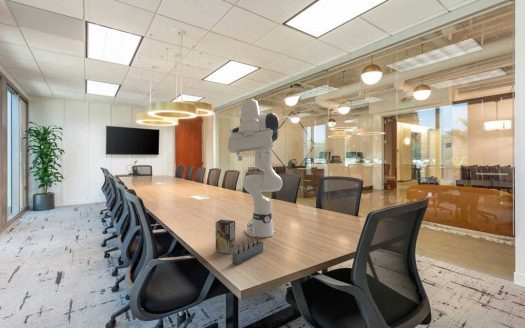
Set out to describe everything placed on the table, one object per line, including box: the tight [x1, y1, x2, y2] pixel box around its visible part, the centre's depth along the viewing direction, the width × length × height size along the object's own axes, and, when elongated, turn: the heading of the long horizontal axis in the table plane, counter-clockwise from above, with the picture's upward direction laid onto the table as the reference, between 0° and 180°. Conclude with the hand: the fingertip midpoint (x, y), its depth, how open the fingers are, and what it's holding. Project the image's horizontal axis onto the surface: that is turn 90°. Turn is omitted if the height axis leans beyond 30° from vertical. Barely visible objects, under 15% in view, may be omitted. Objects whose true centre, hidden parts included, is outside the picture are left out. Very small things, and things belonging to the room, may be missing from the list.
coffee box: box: [215, 219, 236, 254], centre depth 139 cm, size 9×6×16 cm
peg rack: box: [231, 235, 264, 266], centre depth 130 cm, size 3×22×9 cm, turn 146°
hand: (250, 159), depth 113 cm, fingers open, 8 cm apart
